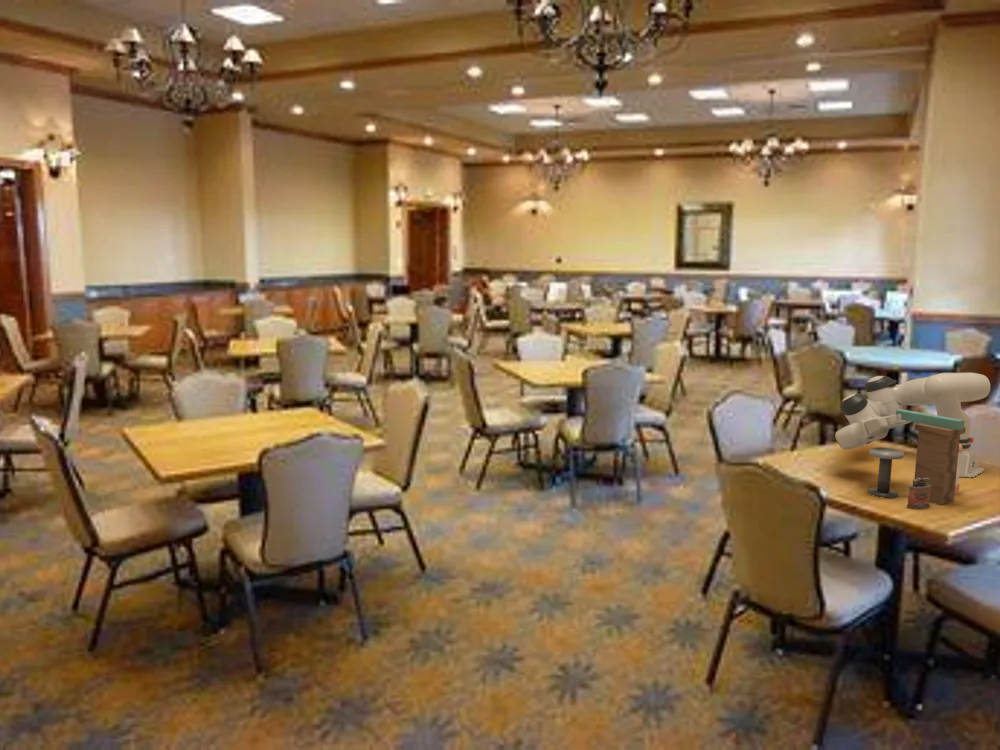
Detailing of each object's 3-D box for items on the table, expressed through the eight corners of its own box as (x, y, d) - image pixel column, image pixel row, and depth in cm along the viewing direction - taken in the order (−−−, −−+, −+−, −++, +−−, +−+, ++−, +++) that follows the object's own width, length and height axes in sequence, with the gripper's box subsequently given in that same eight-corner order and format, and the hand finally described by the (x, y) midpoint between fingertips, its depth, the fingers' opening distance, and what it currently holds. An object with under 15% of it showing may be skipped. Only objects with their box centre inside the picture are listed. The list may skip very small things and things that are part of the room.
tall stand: (923, 493, 298) (930, 421, 294) (958, 501, 288) (965, 427, 284) (908, 497, 292) (915, 424, 288) (942, 506, 283) (950, 430, 279)
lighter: (911, 509, 279) (914, 480, 277) (904, 506, 282) (906, 477, 280) (931, 507, 281) (934, 478, 279) (924, 504, 284) (927, 476, 282)
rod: (900, 417, 299) (901, 409, 299) (963, 429, 282) (964, 420, 281) (895, 418, 297) (896, 410, 297) (958, 430, 280) (959, 421, 279)
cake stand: (877, 488, 303) (880, 446, 301) (906, 495, 294) (910, 452, 292) (859, 492, 297) (862, 449, 295) (888, 500, 288) (892, 456, 286)
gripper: (894, 432, 311) (928, 419, 300) (862, 438, 299) (896, 426, 289) (888, 416, 313) (921, 403, 302) (855, 422, 301) (889, 409, 290)
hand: (908, 414), depth 295 cm, fingers open, 8 cm apart
